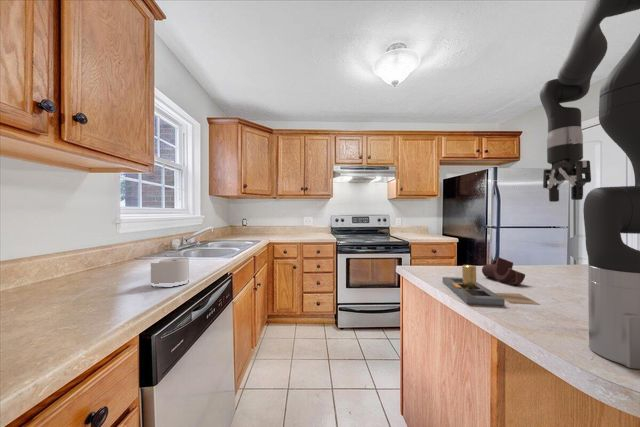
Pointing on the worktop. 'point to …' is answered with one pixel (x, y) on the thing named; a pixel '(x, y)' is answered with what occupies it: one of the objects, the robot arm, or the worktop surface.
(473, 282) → the gold domed cylinder
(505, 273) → the bracket
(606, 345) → the robot arm
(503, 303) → the grey flat frame
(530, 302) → the tan rectangular plate
